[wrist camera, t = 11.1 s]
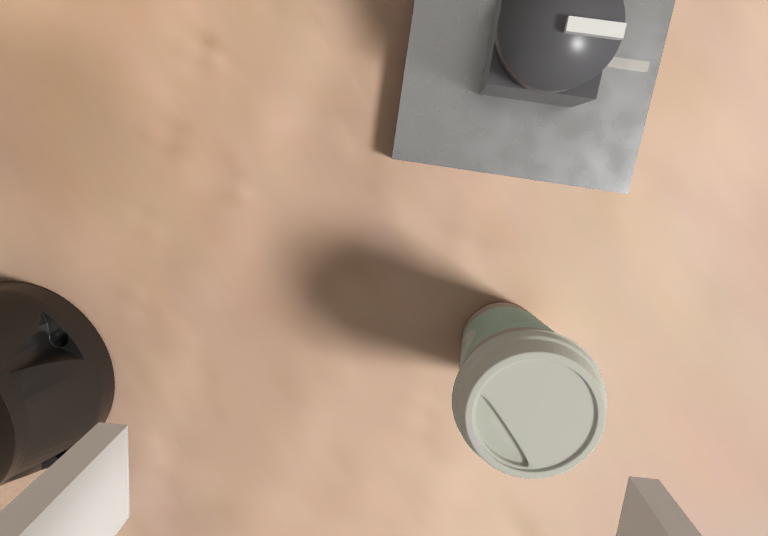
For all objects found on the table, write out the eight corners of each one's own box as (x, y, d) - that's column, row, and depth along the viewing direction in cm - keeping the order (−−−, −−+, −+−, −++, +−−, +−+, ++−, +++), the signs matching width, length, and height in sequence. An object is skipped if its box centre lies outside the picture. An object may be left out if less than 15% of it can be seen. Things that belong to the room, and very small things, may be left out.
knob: (477, 95, 35) (488, 79, 27) (495, -7, 34) (512, -54, 26) (573, 109, 35) (612, 96, 27) (595, 6, 33) (643, -39, 25)
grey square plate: (392, 158, 38) (387, 160, 31) (429, -95, 34) (431, -151, 28) (619, 192, 37) (660, 200, 31) (680, -61, 34) (741, -110, 27)
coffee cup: (444, 284, 39) (454, 341, 28) (561, 283, 39) (623, 341, 27) (443, 391, 41) (453, 486, 30) (556, 392, 41) (611, 490, 29)
